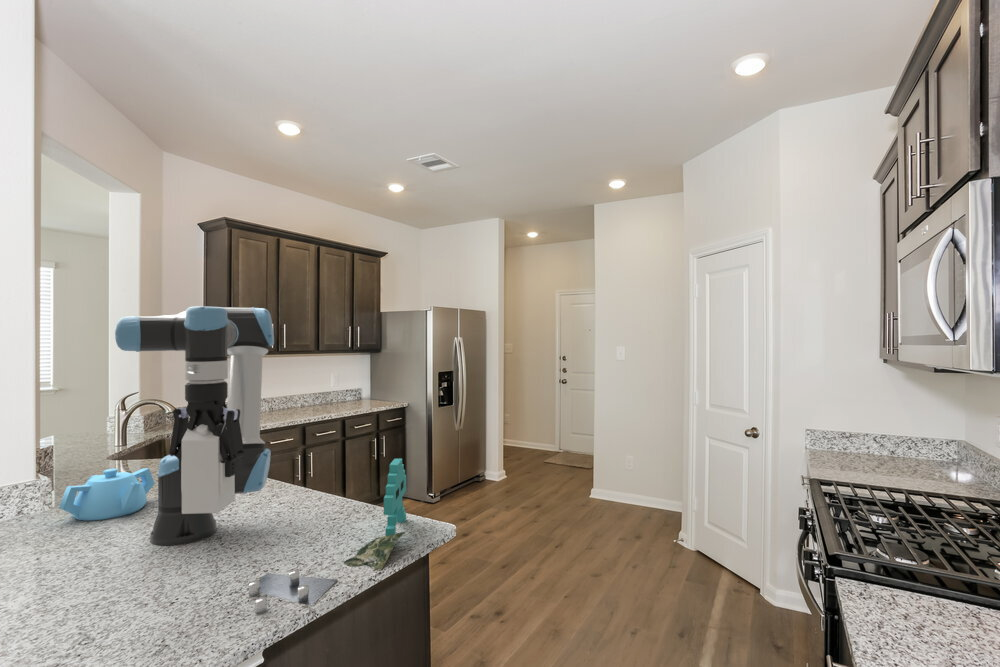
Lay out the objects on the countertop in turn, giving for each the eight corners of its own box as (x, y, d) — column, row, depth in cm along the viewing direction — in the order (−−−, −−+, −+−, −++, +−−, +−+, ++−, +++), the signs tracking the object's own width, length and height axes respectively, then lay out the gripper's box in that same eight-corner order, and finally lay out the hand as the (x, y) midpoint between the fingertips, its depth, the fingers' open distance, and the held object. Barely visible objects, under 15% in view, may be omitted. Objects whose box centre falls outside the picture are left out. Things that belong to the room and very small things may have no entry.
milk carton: (200, 501, 103) (200, 414, 103) (234, 501, 104) (234, 413, 103) (181, 514, 96) (181, 420, 96) (218, 513, 97) (218, 420, 96)
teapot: (56, 529, 136) (57, 480, 136) (87, 507, 154) (88, 464, 154) (137, 520, 143) (138, 474, 143) (158, 500, 161) (158, 459, 161)
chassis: (210, 625, 91) (210, 604, 91) (267, 579, 108) (267, 562, 108) (292, 634, 88) (292, 612, 88) (337, 586, 105) (337, 568, 105)
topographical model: (356, 544, 127) (353, 535, 127) (407, 538, 123) (405, 529, 123) (322, 582, 112) (319, 572, 112) (379, 576, 108) (377, 566, 108)
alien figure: (392, 549, 123) (392, 471, 123) (383, 549, 123) (383, 471, 123) (406, 519, 143) (406, 452, 143) (398, 519, 143) (399, 452, 143)
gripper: (146, 382, 97) (146, 494, 97) (239, 384, 93) (239, 500, 94) (177, 378, 104) (177, 482, 104) (264, 380, 101) (264, 487, 101)
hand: (206, 490), depth 99 cm, fingers closed on milk carton, 8 cm apart
